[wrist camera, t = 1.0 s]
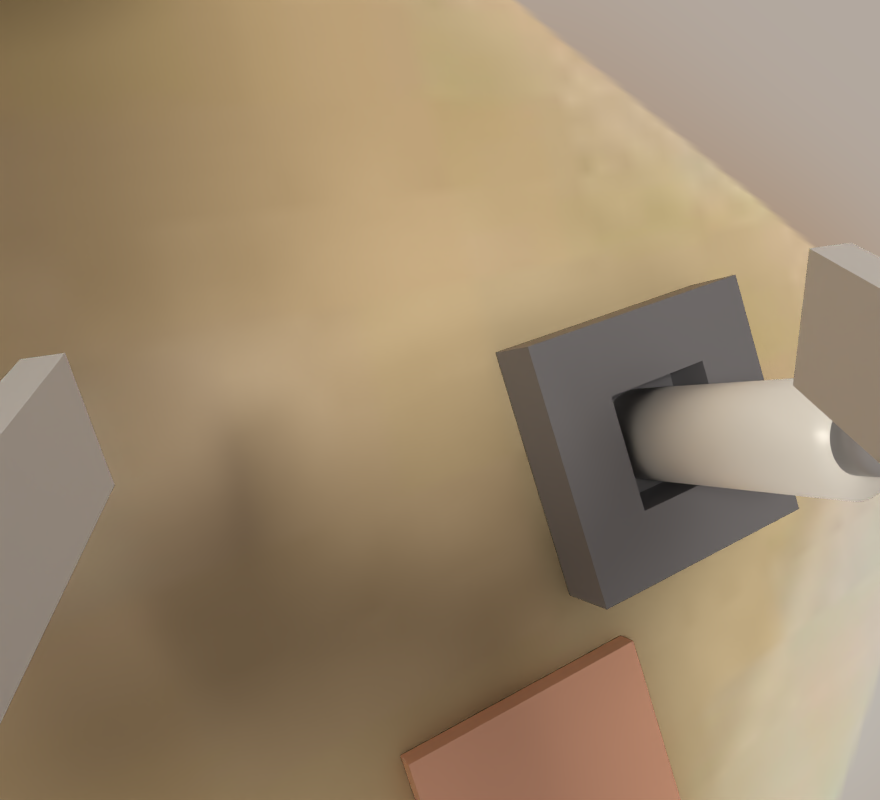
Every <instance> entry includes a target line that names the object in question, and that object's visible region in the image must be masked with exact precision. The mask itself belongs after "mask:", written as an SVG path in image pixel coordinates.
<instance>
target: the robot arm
mask: <svg viewBox="0 0 880 800" xmlns="http://www.w3.org/2000/svg"><path fill="white" fill-rule="evenodd" d="M793 386H794V387H795V388H796V389H797V390H798V391H799V392H801V393H802V394H803V395H804V396H805V397H806V398H807V399H808V400H810V401H811V402H812V403H813V404H814V405H815V406H816V407H817V408H818V409H820V410H821V411H822V412H823V413H824V414H825V415H826V416H827V417H828V418H830V419H831V420H832V421H833V422H834V423H835V424H836V425H837V426H838V427H840V428H841V429H842V430H843V431H844V432H845V433H846V434H847V435H848V436H850V437H851V438H852V439H853V440H854V441H855V442H856V443H857V444H858V445H860V446H861V447H862V448H863V449H864V450H865V451H866V452H867V453H869V454H870V455H871V456H872V457H873V458H874V459H875V460H876V461H877V462H879V463H880V257H879V256H877V255H875V254H873V253H871V252H869V251H867V250H865V249H862V248H861V247H859V246H857V245H855V244H853V243H845V244H838V245H831V246H824V247H817V248H809V256H808V264H807V273H806V281H805V289H804V298H803V306H802V314H801V322H800V331H799V339H798V347H797V356H796V364H795V372H794V381H793ZM113 488H114V482H113V479H112V477H111V474H110V471H109V469H108V466H107V463H106V461H105V458H104V455H103V453H102V450H101V447H100V445H99V442H98V439H97V437H96V434H95V431H94V429H93V426H92V423H91V421H90V418H89V415H88V413H87V410H86V407H85V405H84V402H83V399H82V397H81V394H80V391H79V389H78V386H77V383H76V381H75V378H74V375H73V373H72V370H71V367H70V365H69V362H68V359H67V357H66V354H65V353H61V354H54V355H47V356H39V357H32V358H25V359H20V360H19V361H18V362H17V363H16V364H15V365H14V366H13V368H12V369H11V370H10V371H9V372H8V373H7V374H6V375H5V377H4V378H3V379H2V380H1V381H0V723H1V721H2V719H3V717H4V715H5V713H6V711H7V709H8V707H9V705H10V702H11V700H12V698H13V696H14V694H15V692H16V690H17V688H18V686H19V684H20V682H21V680H22V677H23V675H24V673H25V671H26V669H27V667H28V665H29V663H30V661H31V659H32V657H33V654H34V652H35V650H36V648H37V646H38V644H39V642H40V640H41V638H42V636H43V634H44V632H45V629H46V627H47V625H48V623H49V621H50V619H51V617H52V615H53V613H54V611H55V609H56V606H57V604H58V602H59V600H60V598H61V596H62V594H63V592H64V590H65V588H66V586H67V584H68V581H69V579H70V577H71V575H72V573H73V571H74V569H75V567H76V565H77V563H78V561H79V558H80V556H81V554H82V552H83V550H84V548H85V546H86V544H87V542H88V540H89V538H90V536H91V533H92V531H93V529H94V527H95V525H96V523H97V521H98V519H99V517H100V515H101V513H102V510H103V508H104V506H105V504H106V502H107V500H108V498H109V496H110V494H111V492H112V490H113Z"/></svg>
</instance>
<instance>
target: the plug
mask: <svg viewBox="0 0 880 800" xmlns="http://www.w3.org/2000/svg"><path fill="white" fill-rule="evenodd" d="M793 381H794V378H791V379H776V380H761V381H745V382H730V383H715V384H699V385H684V386H668V387H653V388H638V389H631V390H628V391H626V392H624V393H622V394H621V395H619V396H618V397H617V398H616V399H615V400H614V401H613V404H614V408H615V411H616V414H617V418H618V421H619V425H620V428H621V431H622V435H623V438H624V442H625V445H626V449H627V452H628V455H629V459H630V462H631V466H632V469H633V473H634V476H635V478H636V479H645V480H655V481H664V482H673V483H683V484H692V485H701V486H711V487H720V488H729V489H739V490H748V491H757V492H767V493H776V494H786V495H795V496H804V497H814V498H823V499H832V500H842V501H851V502H862V501H866V500H869V499H871V498H873V497H874V496H876V495H878V494H879V493H880V463H879V462H877V461H876V460H875V459H874V458H873V457H872V456H871V455H870V454H869V453H867V452H866V451H865V450H864V449H863V448H862V447H861V446H860V445H858V444H857V443H856V442H855V441H854V440H853V439H852V438H851V437H850V436H848V435H847V434H846V433H845V432H844V431H843V430H842V429H841V428H840V427H838V426H837V425H836V424H835V423H834V422H833V421H832V420H831V419H830V418H828V417H827V416H826V415H825V414H824V413H823V412H822V411H821V410H820V409H818V408H817V407H816V406H815V405H814V404H813V403H812V402H811V401H810V400H808V399H807V398H806V397H805V396H804V395H803V394H802V393H801V392H799V391H798V390H797V389H796V388H795V387H794V386H793Z"/></svg>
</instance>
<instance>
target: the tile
mask: <svg viewBox="0 0 880 800" xmlns="http://www.w3.org/2000/svg"><path fill="white" fill-rule="evenodd" d="M400 756H401V759H402V762H403V765H404V768H405V771H406V774H407V777H408V780H409V783H410V786H411V789H412V792H413V794H414V797H415V800H681V799H680V796H679V792H678V789H677V786H676V782H675V779H674V776H673V772H672V769H671V766H670V762H669V759H668V756H667V752H666V749H665V746H664V742H663V739H662V735H661V732H660V729H659V725H658V722H657V719H656V715H655V712H654V709H653V705H652V702H651V699H650V695H649V692H648V689H647V685H646V682H645V679H644V675H643V672H642V669H641V665H640V662H639V659H638V655H637V652H636V649H635V645H634V642H633V641H632V640H630V639H627V638H625V637H623V636H619V637H617V638H615V639H613V640H612V641H610V642H608V643H606V644H604V645H602V646H601V647H599V648H597V649H595V650H593V651H591V652H590V653H588V654H586V655H584V656H582V657H580V658H579V659H577V660H575V661H573V662H571V663H569V664H567V665H566V666H564V667H562V668H560V669H558V670H556V671H555V672H553V673H551V674H549V675H547V676H545V677H544V678H542V679H540V680H538V681H536V682H534V683H533V684H531V685H529V686H527V687H525V688H523V689H522V690H520V691H518V692H516V693H514V694H512V695H511V696H509V697H507V698H505V699H503V700H501V701H500V702H498V703H496V704H494V705H492V706H490V707H489V708H487V709H485V710H483V711H481V712H479V713H478V714H476V715H474V716H472V717H470V718H468V719H467V720H465V721H463V722H461V723H459V724H457V725H455V726H454V727H452V728H450V729H448V730H446V731H444V732H443V733H441V734H439V735H437V736H435V737H433V738H432V739H430V740H428V741H426V742H424V743H422V744H421V745H419V746H417V747H415V748H413V749H411V750H410V751H408V752H406V753H404V754H402V755H400Z"/></svg>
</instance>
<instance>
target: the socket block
mask: <svg viewBox="0 0 880 800" xmlns="http://www.w3.org/2000/svg"><path fill="white" fill-rule="evenodd" d="M496 356H497V359H498V362H499V365H500V369H501V372H502V375H503V379H504V382H505V385H506V388H507V392H508V395H509V398H510V401H511V405H512V408H513V411H514V414H515V418H516V421H517V424H518V428H519V431H520V434H521V437H522V441H523V444H524V447H525V450H526V454H527V457H528V460H529V464H530V467H531V470H532V473H533V477H534V480H535V483H536V486H537V490H538V493H539V496H540V500H541V503H542V506H543V509H544V513H545V516H546V519H547V522H548V526H549V529H550V532H551V536H552V539H553V542H554V545H555V549H556V552H557V555H558V558H559V562H560V565H561V568H562V572H563V575H564V578H565V581H566V585H567V588H568V591H569V594H570V596H573V597H576V598H578V599H581V600H583V601H586V602H589V603H591V604H594V605H597V606H599V607H602V608H605V609H609V608H611V607H612V606H614V605H616V604H618V603H620V602H622V601H624V600H626V599H628V598H630V597H632V596H633V595H635V594H637V593H639V592H641V591H643V590H645V589H647V588H649V587H651V586H653V585H654V584H656V583H658V582H660V581H662V580H664V579H666V578H668V577H670V576H672V575H673V574H675V573H677V572H679V571H681V570H683V569H685V568H687V567H689V566H691V565H693V564H694V563H696V562H698V561H700V560H702V559H704V558H706V557H708V556H710V555H712V554H714V553H715V552H717V551H719V550H721V549H723V548H725V547H727V546H729V545H731V544H733V543H735V542H736V541H738V540H740V539H742V538H744V537H746V536H748V535H750V534H752V533H754V532H756V531H757V530H759V529H761V528H763V527H765V526H767V525H769V524H771V523H773V522H775V521H777V520H778V519H780V518H782V517H784V516H786V515H788V514H790V513H792V512H794V511H796V510H798V509H799V507H798V504H797V500H796V496H795V495H786V494H776V493H767V492H757V491H748V490H739V489H729V488H720V487H711V486H701V485H692V484H683V483H673V482H664V481H655V480H645V479H636V478H635V476H634V473H633V469H632V466H631V462H630V459H629V455H628V452H627V449H626V445H625V442H624V438H623V435H622V431H621V428H620V425H619V421H618V418H617V414H616V411H615V408H614V404H613V401H614V400H615V399H616V398H617V397H618V396H619V395H621V394H622V393H624V392H626V391H628V390H631V389H638V388H653V387H668V386H684V385H699V384H715V383H730V382H745V381H761V380H764V378H763V375H762V371H761V367H760V364H759V360H758V356H757V353H756V349H755V345H754V342H753V338H752V334H751V330H750V327H749V323H748V319H747V316H746V312H745V308H744V305H743V301H742V297H741V294H740V290H739V286H738V283H737V279H736V275H732V276H728V277H724V278H720V279H715V280H711V281H707V282H703V283H699V284H694V285H691V286H688V287H685V288H682V289H679V290H676V291H673V292H671V293H668V294H665V295H662V296H659V297H656V298H653V299H650V300H647V301H644V302H641V303H639V304H636V305H633V306H630V307H627V308H624V309H621V310H618V311H615V312H612V313H609V314H607V315H604V316H601V317H598V318H595V319H592V320H589V321H586V322H583V323H580V324H577V325H575V326H572V327H569V328H566V329H563V330H560V331H557V332H554V333H551V334H548V335H545V336H543V337H540V338H537V339H534V340H531V341H528V342H525V343H522V344H519V345H516V346H513V347H511V348H508V349H505V350H502V351H499V352H496Z"/></svg>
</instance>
